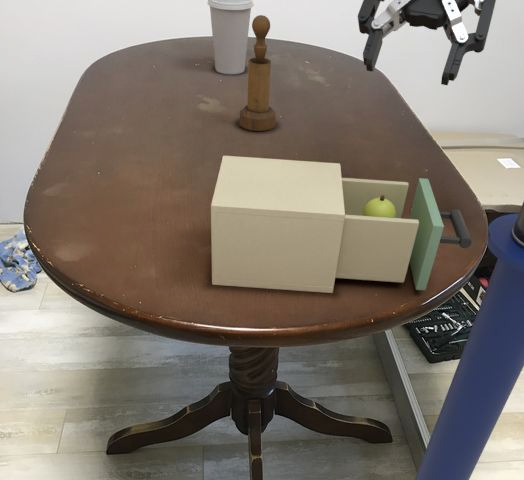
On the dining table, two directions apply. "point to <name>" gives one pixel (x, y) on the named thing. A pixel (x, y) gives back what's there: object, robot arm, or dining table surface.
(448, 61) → the robot arm
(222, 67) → the coffee cup
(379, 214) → the pear
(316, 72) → the dining table surface
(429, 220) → the drawer
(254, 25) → the mortar and pestle
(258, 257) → the cabinet
